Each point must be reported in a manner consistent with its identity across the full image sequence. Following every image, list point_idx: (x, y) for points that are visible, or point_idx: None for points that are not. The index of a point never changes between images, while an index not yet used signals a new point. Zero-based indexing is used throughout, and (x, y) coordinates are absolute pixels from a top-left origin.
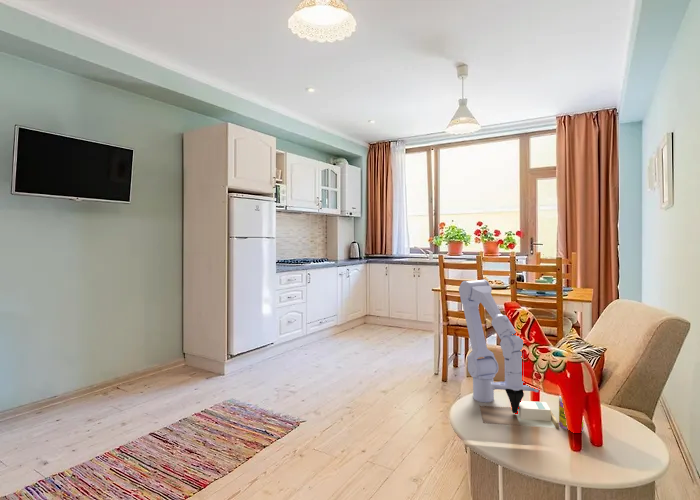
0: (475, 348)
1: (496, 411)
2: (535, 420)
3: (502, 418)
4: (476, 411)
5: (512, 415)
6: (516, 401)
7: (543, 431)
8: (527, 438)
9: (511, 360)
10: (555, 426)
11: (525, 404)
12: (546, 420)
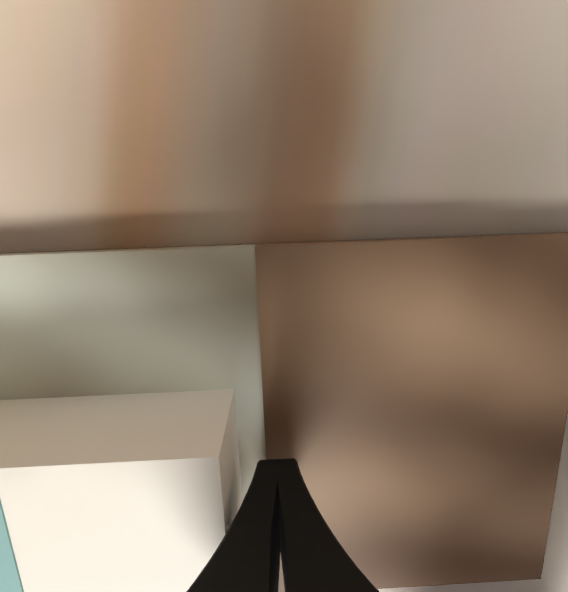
0: None
1: (423, 495)
2: (107, 385)
3: (397, 365)
4: (559, 499)
5: (298, 445)
6: (260, 562)
7: (62, 226)
8: (218, 36)
9: None
10: None
11: (150, 573)
12: (8, 400)
